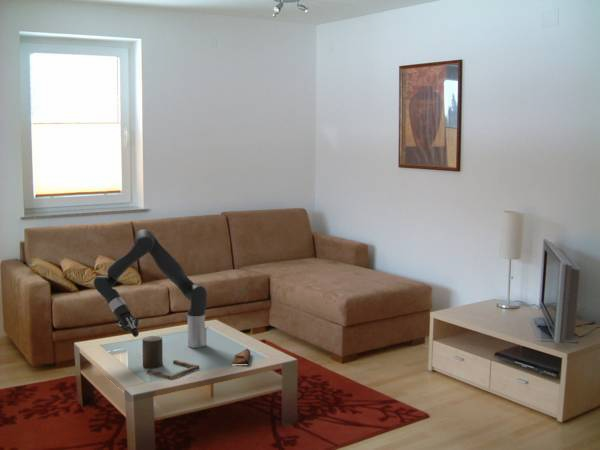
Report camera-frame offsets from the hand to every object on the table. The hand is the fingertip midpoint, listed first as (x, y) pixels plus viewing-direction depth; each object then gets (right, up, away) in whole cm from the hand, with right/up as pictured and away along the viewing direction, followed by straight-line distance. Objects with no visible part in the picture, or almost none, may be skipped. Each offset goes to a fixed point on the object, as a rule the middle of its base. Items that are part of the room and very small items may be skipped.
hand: (136, 335), depth 355 cm
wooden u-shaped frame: (+20, -15, -12) cm, 28 cm away
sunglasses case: (+52, -14, +5) cm, 54 cm away
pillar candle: (+9, -14, -4) cm, 17 cm away
